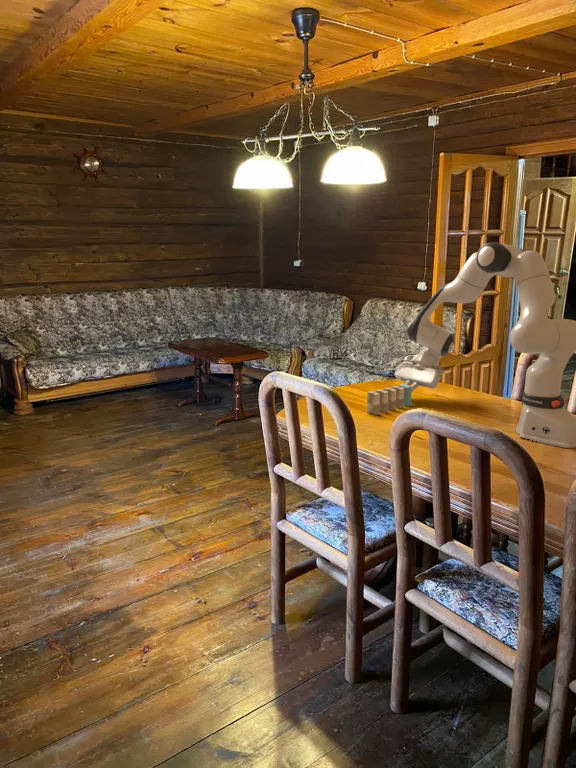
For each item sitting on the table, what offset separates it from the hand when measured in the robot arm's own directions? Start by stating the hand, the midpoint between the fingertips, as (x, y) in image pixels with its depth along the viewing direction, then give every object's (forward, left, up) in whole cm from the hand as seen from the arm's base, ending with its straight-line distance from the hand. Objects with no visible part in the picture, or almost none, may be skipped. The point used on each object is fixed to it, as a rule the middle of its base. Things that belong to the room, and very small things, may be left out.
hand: (407, 391), depth 236 cm
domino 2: (0, +15, -5) cm, 16 cm away
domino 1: (0, +19, -5) cm, 20 cm away
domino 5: (0, +1, -5) cm, 5 cm away
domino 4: (0, +6, -5) cm, 8 cm away
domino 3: (0, +10, -5) cm, 11 cm away
